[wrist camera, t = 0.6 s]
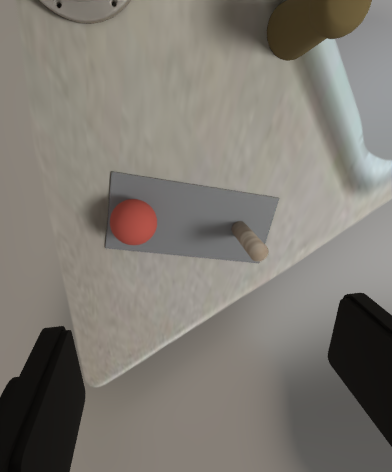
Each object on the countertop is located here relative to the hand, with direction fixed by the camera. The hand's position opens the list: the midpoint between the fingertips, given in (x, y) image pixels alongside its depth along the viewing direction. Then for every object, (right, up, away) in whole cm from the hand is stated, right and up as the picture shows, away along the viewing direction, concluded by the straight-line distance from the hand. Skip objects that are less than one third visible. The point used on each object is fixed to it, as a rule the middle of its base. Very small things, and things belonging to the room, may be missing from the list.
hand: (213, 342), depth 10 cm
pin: (+6, +5, +33) cm, 34 cm away
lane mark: (-1, +6, +31) cm, 32 cm away
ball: (-9, +5, +27) cm, 29 cm away
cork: (+11, +28, +24) cm, 38 cm away
